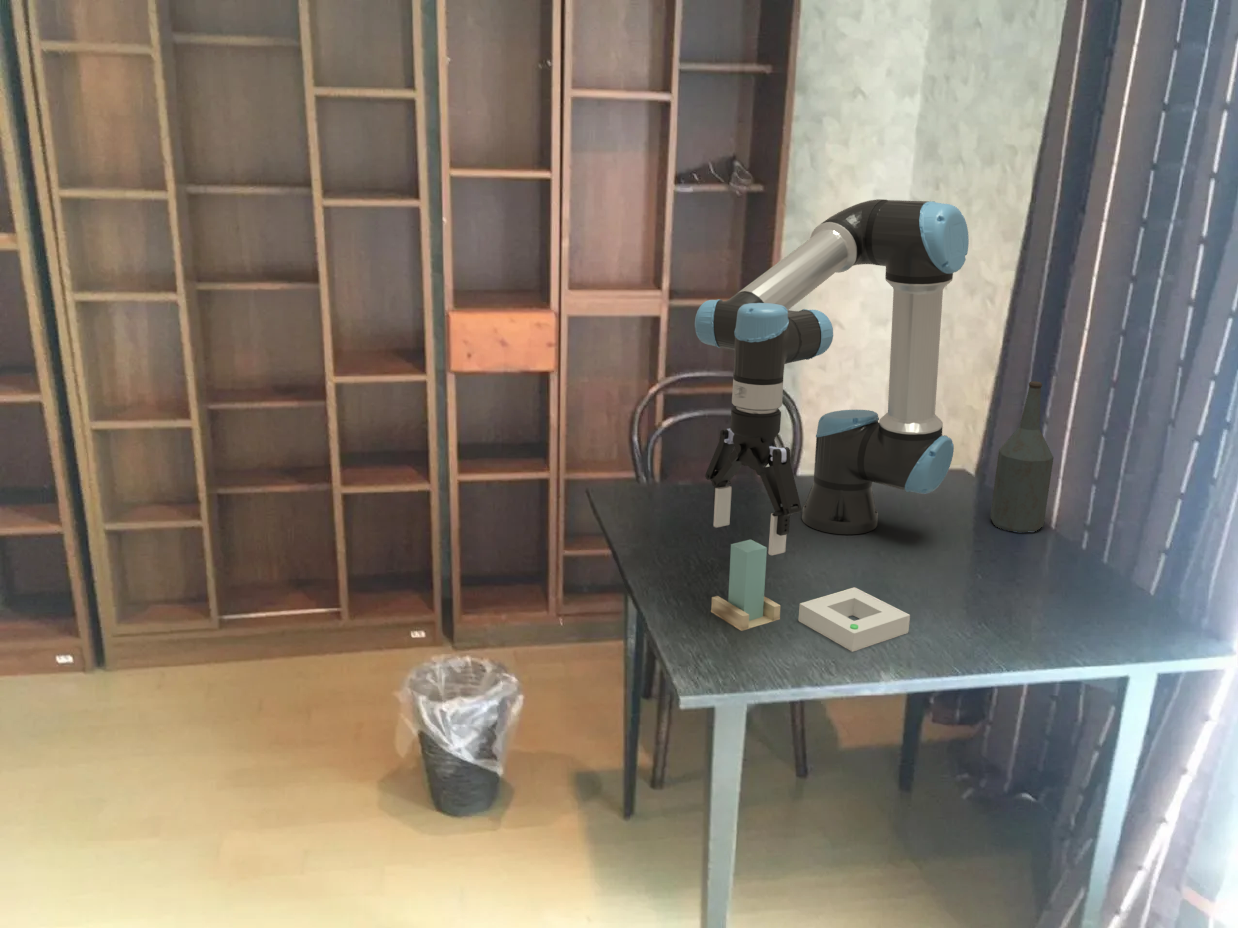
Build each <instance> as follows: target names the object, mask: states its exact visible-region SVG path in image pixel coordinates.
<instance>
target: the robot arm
mask: <svg viewBox="0 0 1238 928" xmlns="http://www.w3.org/2000/svg"><path fill="white" fill-rule="evenodd" d="M968 228H969V227H968V224H967V222H966V219H965V217H964V215H963V213H962V211H961V210H960V209H959V208H958V207H957V206H956V205H953V204H950V203H944V202H943V203H942V202H936V201H931V200H930V201H928V200H923V201H922V200H897V199H896V200H895V199H879V198H878V199H877V198H876V199H870V200H866V201H863V202H858V203H856V204H854V205H852V206H849V207H847V208H844V209H843V210H841V211H838V212H836V213H835V214H833V215H832V216H830V217H828V218H827V219H825V220H824V221H823V222H821V223H820V224H818V225H817V226H816V227H815V228H814V229H813V230H812V232H811V234H810V237H809V239H808V240H806V241H805V242H804V243H801V245H800V246H798V247H797V248H796V249H794V250H793V251H792V252H790V253H789V254H787V256H785V257H784V258H782V259H781V260H779V261H778V262H777V263H775V264H774V265H773V266H771V267H770V268H769V269H768V270H766V271H765V272H764V273H762V274H761V275H759V276H758V277H757V278H755V279H754V280H753V281H752V282H750V283H749V284H747V285H746V286H745V287H744V288H742V289H741V290H740V291H738V292H737V293H735V294H734V295H733V296H731V297H729V299H727V300H722V299H707V300H706V301H704V302H703V303H702V304H701V305H700V306H699V307H698V309H697V311H696V314H695V319H694V330H695V334H696V336H697V338H698V340H699V341H700V342H701V343H703V344H705V345H708V346H713V347H717V348H718V349H728V350H733V351H734V359H733V361H734V362H733V363H734V365H733V374H732V375H733V380H732V395H731V404H733V407H732V408H731V410H730V424H729V425H730V427H729V428H724V429H723V428H722V429H721V430H720V432H719V433H720V434H719V439H718V440H719V441H718V444H717V446H716V448H715V451H714V453H713V455H712V458H711V460H710V463H709V464H708V465H709V466H708V467H707V469H706V472H705V475H704V476H705V479H706V480H707V481H708V480H709V481H711V484H712V486H713V505H714V510H713V525H712V526H713V527H714V528H716V529H717V528H721V527H725V526H729V525H730V524H731V522H730V518H731V507H732V506H731V503H732V502H731V501H732V487H733V486H730V484H732V482H731V481H732V479H733V478H734V477H735V475H736V474H737V473H738V472H739V471H740V470H741V468H742V467H743V466H744V467H748V468H750V469H751V470H753V471H755V473H756V474H757V476H759V477H760V478H761V481H762V483H763V486H764V488H765V490H766V493H767V496H768V498H769V501H770V504H771V505H772V507H773V510H774V512H772V513H770V523H769V540H768V551H767V553H768V554H767V555H770V556H775V555H780V554H783V553H786V549H787V548H786V546H787V535H788V534H789V532H790V523H791V522H790V521H791V515H794V514H799V513H801V512H802V514H801V519H802V520H801V521H802V522H803V523H804V524H805V525H806V526H808V527H810V528H812V529H814V530H817V531H820V532H824V533H829V534H835V535H836V534H837V535H859V534H860V535H861V534H865V533H868V532H869V533H870V532H872V531H874V530H875V529H876V528H877V526H878V522H879V521H878V518H879V513H878V510H877V509H876V502H875V497H874V493H873V483H876V484H880V485H884V486H887V487H891V488H896V489H899V490H902V491H905V492H907V493H911V492H913V493H917V494H922V495H925V494H926V495H927V494H930V493H932V492H934V491H935V490H937V489H938V488H939V486H940V485H941V484H942V482H943V481H944V480H945V478H946V476H947V474H948V471H949V470H950V467H951V464H952V462H953V456H954V452H955V451H954V449H955V448H954V447H955V446H954V442H953V439H952V438H950V437H949V436H947V435H943V428H944V427H943V426H944V424H943V423H944V422H943V421H942V419H941V418H939V417H938V416H937V414H936V403H937V391H938V389H937V388H938V375H939V374H938V372H939V359H940V357H939V356H940V341H941V329H942V328H941V326H942V324H941V323H942V309H943V297H944V296H943V294H944V293H943V292H944V289H945V287H947V285H949V284H950V283H951V282H952V281H953V278H954V273H957V272H958V271H960V270H961V269H962V267H963V266H964V264H965V262H966V260H967V259H966V256H967V255H968V252H969V246H970V245H969V244H970V243H969V242H970V241H969V240H970V239H969V229H968ZM859 265H860V266H861V265H874V266H882V267H885V274H884V275H885V278H884V279H885V281H886V282H887V283H888V284H889V285H890V286H891V287H892V289H893V292H892V293H893V294H892V296H893V297H892V314H891V316H892V317H891V336H890V337H891V338H890V357H889V359H890V360H889V361H890V362H889V378H888V400H887V401H888V403H887V404H888V405H887V412H886V413H885V414H884V415H883V416H881V418H880V417H879V414H878V413H877V412H876V411H873V410H870V409H843V410H841V409H840V410H834V411H830V412H827V413H824V414H823V415H822V416H821V417H820V418H819V420H818V423H817V429H816V433H815V438H816V441H815V450H814V451H815V452H814V453H815V454H814V466H813V467H814V469H813V482H812V486H811V488H810V491H809V493H808V496H807V499H806V502H805V503H804V505H803V507H802V505H801V501H800V497H799V492H798V488H797V483H796V481H795V477H794V476H795V475H794V472H793V467H792V464H791V449H790V448H789V446H788V447H787V446H786V447H785V446H784V447H776V442H775V440H776V437H777V436H778V434H779V433H780V432H781V421H782V420H781V419H782V411H781V410H780V408H781V407H783V406H782V405H783V393H784V391H783V390H784V374H785V365H786V364H791V363H795V362H799V361H806V360H807V361H809V360H810V359H813V358H815V357H818V356H821V355H822V354H824V353H826V352H827V351H828V350H829V348H830V347H831V345H832V342H833V340H834V327H833V324H832V322H831V320H830V318H829V317H828V316H827V315H826V314H825V313H824V312H822V311H821V310H818V309H805V308H803V309H801V310H791V309H792V308H793V307H794V306H795V305H796V304H797V303H799V302H800V301H802V300H803V299H804V298H805V297H807V296H808V295H810V294H811V292H813V291H814V290H816V289H817V288H818V287H819V286H820V285H822V284H823V283H824V282H825V281H827V280H829V278H830V277H832V276H833V275H834V274H835V273H844V272H845V271H846V272H847V271H848V270H849V269H851V268H852V267H854V266H859Z"/></svg>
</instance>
